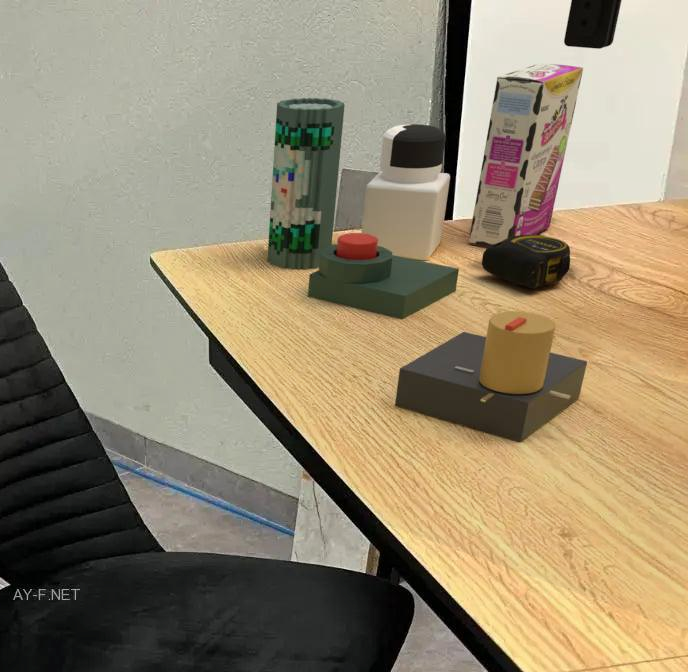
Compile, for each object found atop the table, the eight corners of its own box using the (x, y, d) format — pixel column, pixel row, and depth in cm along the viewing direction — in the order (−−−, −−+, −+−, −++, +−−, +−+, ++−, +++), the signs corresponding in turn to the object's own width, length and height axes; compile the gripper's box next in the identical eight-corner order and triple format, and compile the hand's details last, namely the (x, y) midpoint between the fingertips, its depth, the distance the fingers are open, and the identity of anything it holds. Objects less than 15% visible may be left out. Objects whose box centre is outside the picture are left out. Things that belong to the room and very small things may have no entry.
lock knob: (495, 366, 84) (507, 302, 82) (553, 380, 82) (567, 315, 79) (467, 384, 82) (478, 319, 79) (526, 399, 79) (540, 333, 77)
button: (383, 256, 106) (385, 237, 105) (362, 265, 103) (364, 246, 102) (349, 249, 108) (351, 230, 107) (328, 258, 106) (330, 239, 105)
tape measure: (474, 278, 111) (481, 239, 109) (527, 267, 113) (534, 229, 111) (527, 298, 106) (534, 258, 104) (581, 285, 108) (589, 246, 106)
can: (256, 260, 117) (265, 103, 109) (297, 248, 120) (309, 95, 112) (299, 273, 113) (312, 112, 105) (341, 261, 116) (356, 103, 108)
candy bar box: (512, 253, 117) (544, 80, 108) (466, 245, 120) (493, 76, 111) (553, 228, 124) (586, 64, 115) (508, 221, 127) (537, 60, 118)
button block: (455, 291, 108) (462, 249, 106) (400, 320, 102) (406, 276, 99) (361, 271, 114) (365, 230, 111) (303, 297, 107) (307, 254, 105)
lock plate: (602, 404, 86) (612, 364, 84) (533, 458, 78) (542, 415, 77) (457, 367, 92) (463, 329, 91) (382, 413, 85) (387, 373, 83)
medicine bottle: (441, 243, 121) (458, 122, 114) (428, 262, 116) (445, 136, 109) (374, 236, 124) (387, 118, 117) (358, 254, 118) (371, 132, 112)
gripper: (631, -240, 85) (579, 32, 95) (545, -247, 76) (498, 54, 86) (738, -247, 81) (672, 38, 91) (660, -255, 72) (596, 63, 82)
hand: (587, 45), depth 89 cm, fingers closed
